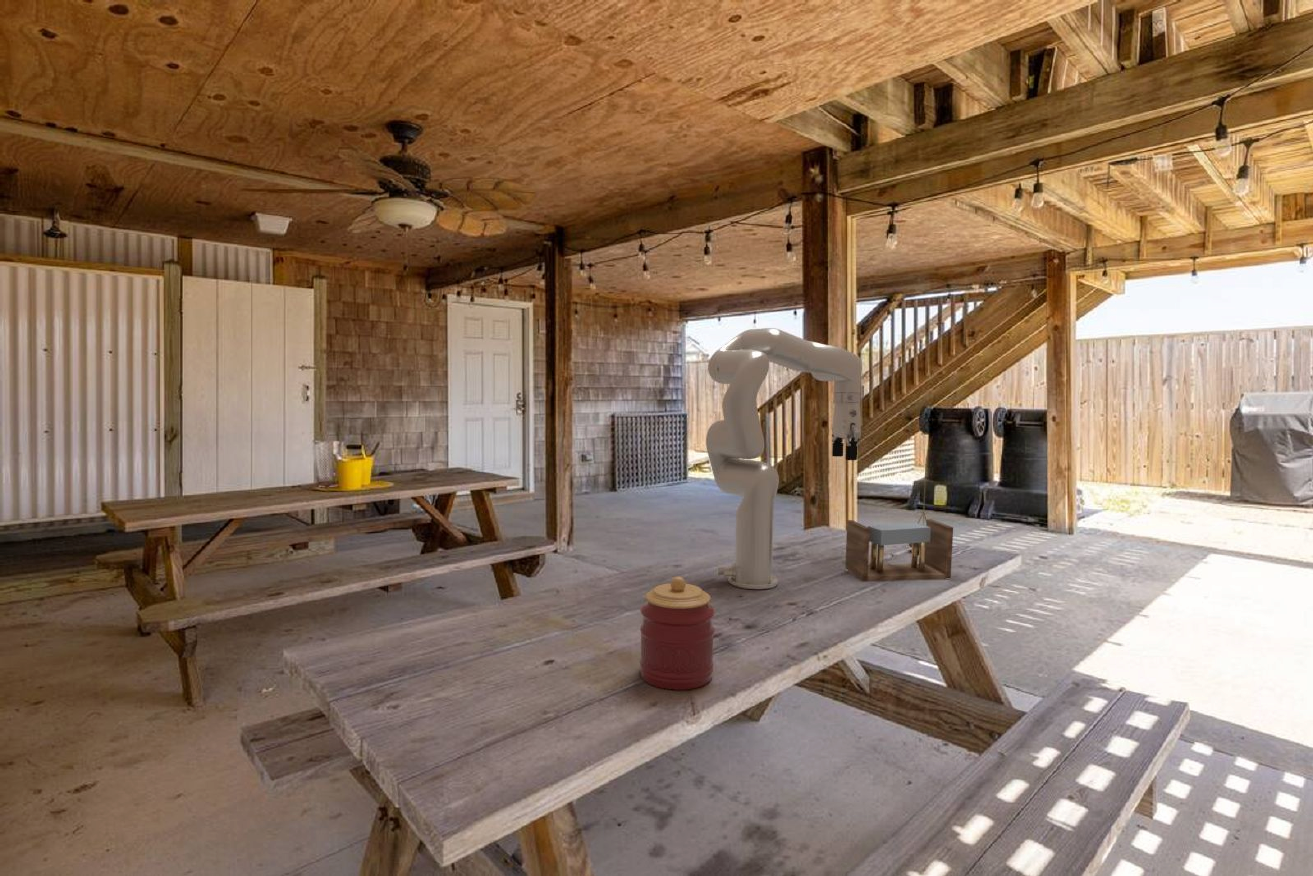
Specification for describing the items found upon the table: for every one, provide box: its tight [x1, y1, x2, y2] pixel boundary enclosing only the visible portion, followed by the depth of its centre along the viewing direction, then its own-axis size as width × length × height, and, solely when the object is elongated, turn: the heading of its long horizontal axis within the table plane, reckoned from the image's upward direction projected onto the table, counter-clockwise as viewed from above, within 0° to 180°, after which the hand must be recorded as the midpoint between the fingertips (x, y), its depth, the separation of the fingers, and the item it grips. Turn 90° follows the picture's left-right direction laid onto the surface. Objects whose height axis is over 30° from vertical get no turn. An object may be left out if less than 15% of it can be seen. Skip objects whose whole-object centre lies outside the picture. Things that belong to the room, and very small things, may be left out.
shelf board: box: [867, 522, 931, 546], centre depth 188 cm, size 16×6×4 cm, turn 109°
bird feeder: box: [907, 456, 928, 552], centre depth 213 cm, size 9×9×30 cm
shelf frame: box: [844, 518, 954, 582], centre depth 188 cm, size 25×11×14 cm, turn 98°
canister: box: [639, 576, 716, 691], centre depth 120 cm, size 13×13×18 cm
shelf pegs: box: [869, 542, 926, 573], centre depth 189 cm, size 14×6×8 cm, turn 98°
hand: (844, 458), depth 200 cm, fingers open, 9 cm apart
